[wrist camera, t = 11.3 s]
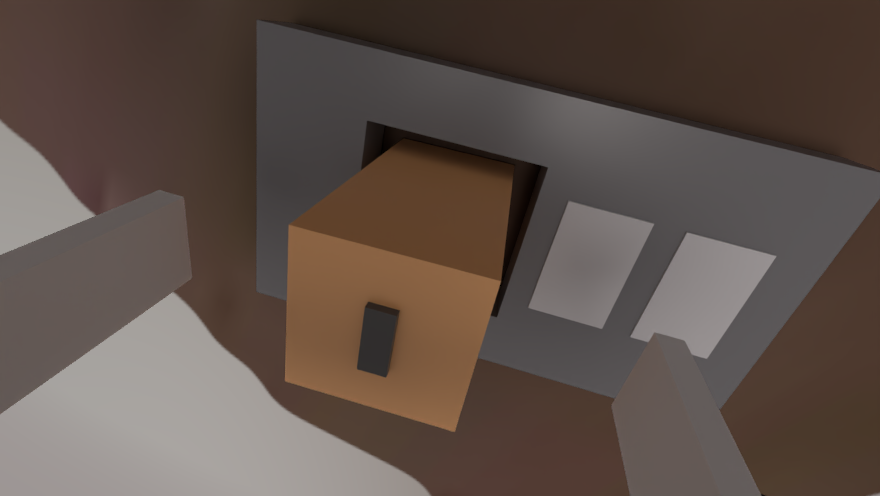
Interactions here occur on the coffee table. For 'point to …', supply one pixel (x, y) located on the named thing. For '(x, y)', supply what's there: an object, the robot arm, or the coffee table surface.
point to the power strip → (570, 205)
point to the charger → (398, 281)
